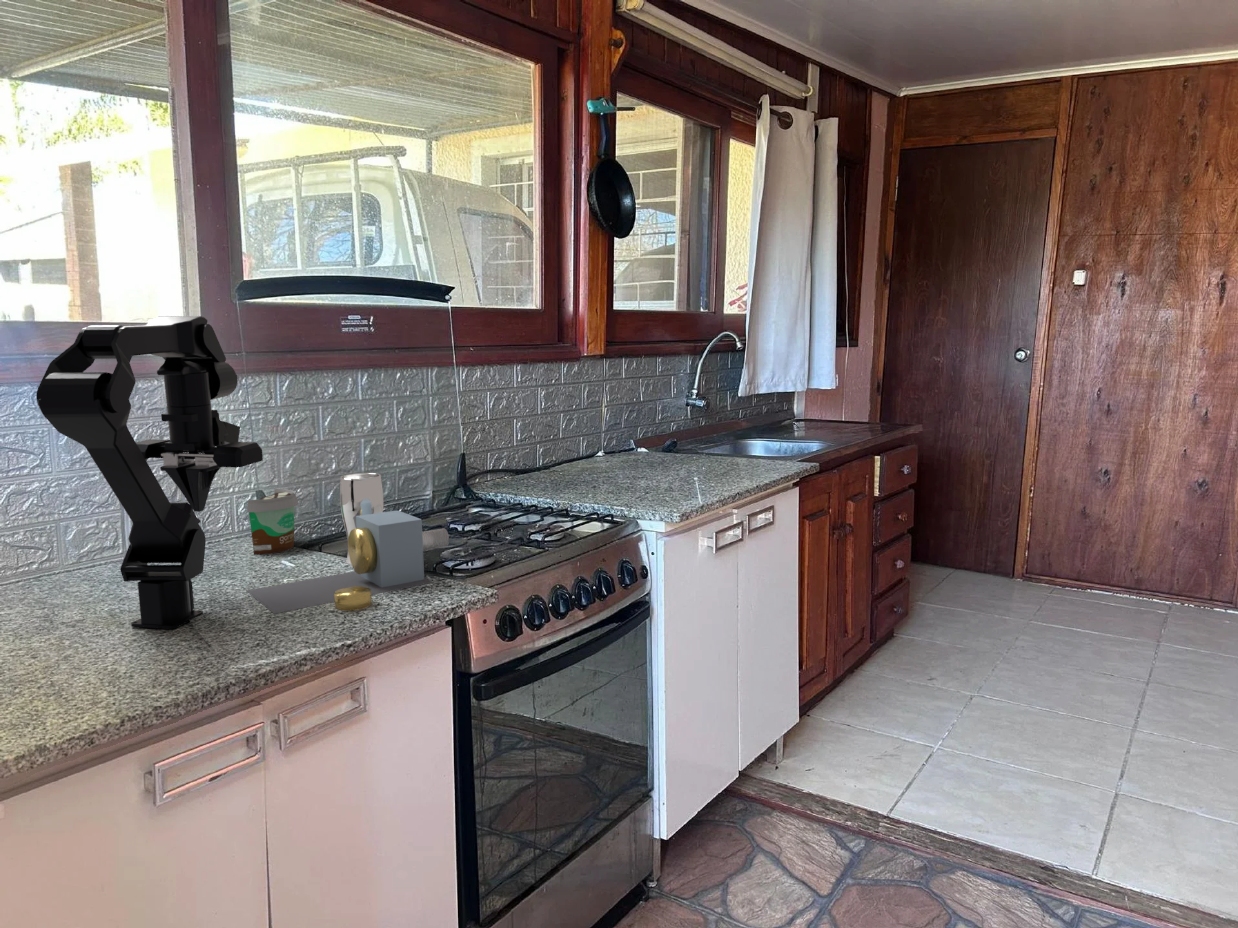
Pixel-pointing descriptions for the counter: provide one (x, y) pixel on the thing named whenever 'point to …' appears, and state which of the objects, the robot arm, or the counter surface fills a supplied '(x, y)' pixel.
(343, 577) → the mat
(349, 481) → the beer glass
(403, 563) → the bearing block
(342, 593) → the gold domed disc
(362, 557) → the shaft
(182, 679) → the counter surface
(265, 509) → the food container
